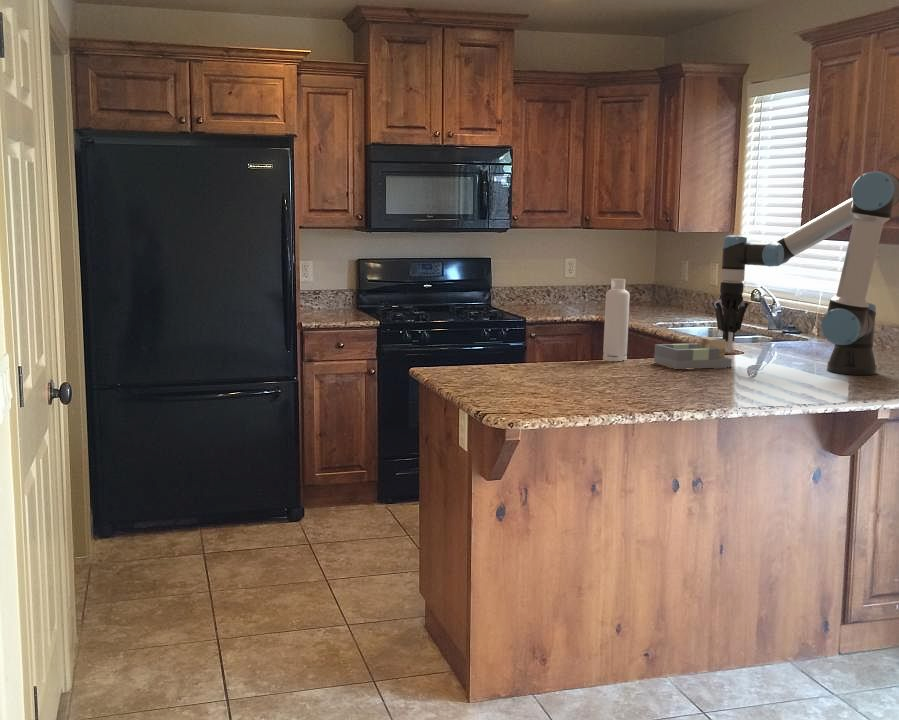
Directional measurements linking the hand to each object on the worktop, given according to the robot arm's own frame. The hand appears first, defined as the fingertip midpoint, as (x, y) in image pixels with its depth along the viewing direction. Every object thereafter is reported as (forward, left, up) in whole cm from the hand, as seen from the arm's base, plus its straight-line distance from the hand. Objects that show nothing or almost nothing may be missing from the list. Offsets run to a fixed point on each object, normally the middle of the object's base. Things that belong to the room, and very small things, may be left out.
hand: (727, 350), depth 334 cm
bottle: (+17, +34, -5) cm, 38 cm away
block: (0, +6, -2) cm, 7 cm away
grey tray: (0, +14, -5) cm, 15 cm away
